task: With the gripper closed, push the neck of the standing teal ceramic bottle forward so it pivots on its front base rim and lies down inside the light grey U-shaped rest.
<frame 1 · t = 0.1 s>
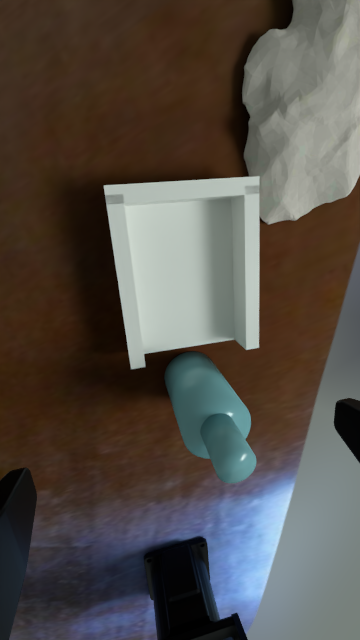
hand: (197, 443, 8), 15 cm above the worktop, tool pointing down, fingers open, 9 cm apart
u rest: (182, 274, 22), on the worktop
decorative stone: (302, 119, 21), on the worktop
bottle: (190, 375, 24), on the worktop
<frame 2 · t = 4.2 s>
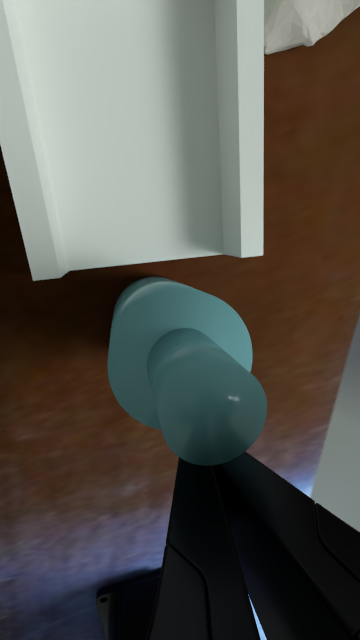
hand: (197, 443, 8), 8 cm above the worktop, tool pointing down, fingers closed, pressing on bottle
u rest: (133, 135, 13), on the worktop
bottle: (155, 318, 15), on the worktop, touching gripper
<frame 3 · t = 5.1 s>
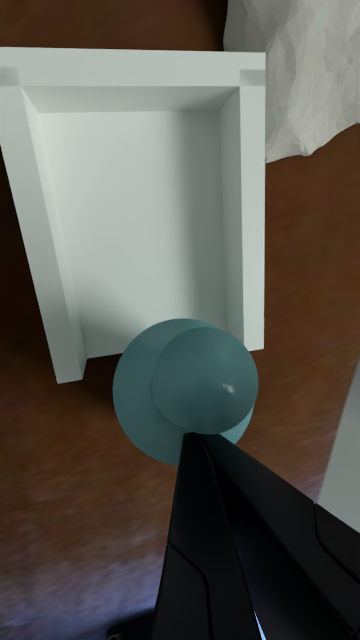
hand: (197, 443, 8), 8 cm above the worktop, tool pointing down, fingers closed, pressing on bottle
u rest: (146, 237, 14), on the worktop
bottle: (166, 395, 16), point 1 cm above the worktop, tilted 33°, touching gripper
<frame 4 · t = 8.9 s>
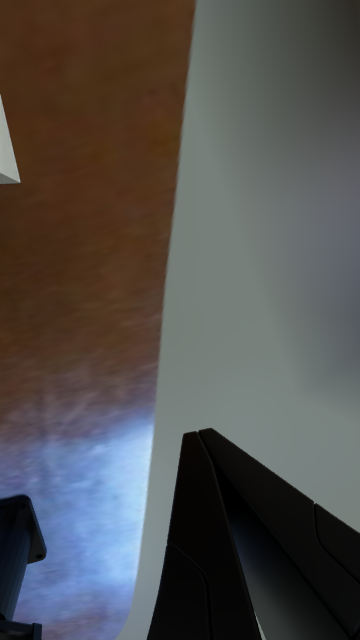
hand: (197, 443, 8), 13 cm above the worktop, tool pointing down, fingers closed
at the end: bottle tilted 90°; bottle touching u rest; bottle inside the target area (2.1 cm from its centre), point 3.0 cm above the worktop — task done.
